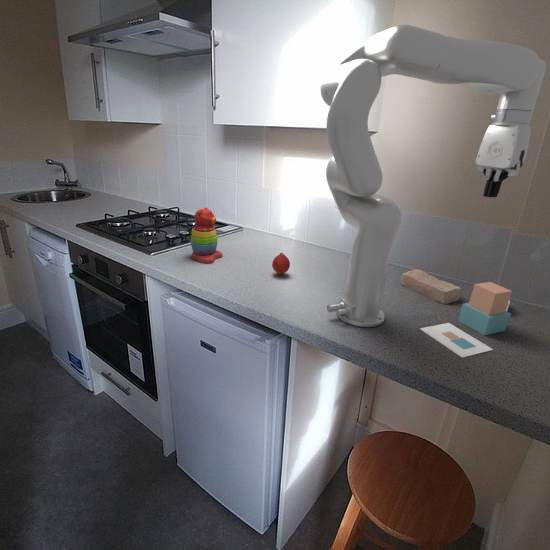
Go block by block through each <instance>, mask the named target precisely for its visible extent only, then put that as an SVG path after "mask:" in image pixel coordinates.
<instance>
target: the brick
mask: <svg viewBox="0 0 550 550" xmlns="http://www.w3.org/2000/svg"><path fill="white" fill-rule="evenodd" d="M400 285H401V286H403V287H404V288H406V289H409V290H410V291H412V292H416V293H418V294H420V295H422V296H425V297H427V298H429V299H431V300H433V301H436V302H439V303H441V304H443V305H446V304H447V305H448V304H450V303H453V302H457V301H459V299H460V296H461V291H462V288H461V287H459V286H458V285H454V284H453V283H451V282H448V281H445V280H440V279H439V278H437V277H436V276H432V275H430V274H429V273H427V272H425V271H423V270H421V269H412V270H408V271H406V272H403V273H401V277H400Z"/></svg>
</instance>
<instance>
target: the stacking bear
mask: <svg viewBox="0 0 550 550" xmlns="http://www.w3.org/2000/svg"><path fill="white" fill-rule="evenodd" d="M193 217H194V222H195V225H194V226H193V228H192V230H191V235H190V246H191V249H192V253H191V259H192V260H194V261H195V262H198V263H202V264H207V265H209V264H213V263H215V260H216V259H221V258H222V257H224V256H223V252H221V251H219V250H217V246H218V241H219V240H218V234H217V230H216V227H215V226H214V224H215V223H216V221H217V218H216V216H215V214H214V213H213V212H212V210H210V209H208V207H204V208H200V209H198V210H197V211H195V213H194V216H193Z"/></svg>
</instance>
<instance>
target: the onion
mask: <svg viewBox="0 0 550 550" xmlns="http://www.w3.org/2000/svg"><path fill="white" fill-rule="evenodd" d="M271 267H272V269H273V271H274V272H275V273H277V274H278V275H279V276H282V275H284V274H286V273H287V272H288V271H289V269H290V267H291V263H290V260H289V258H288V256H286V255H285V254H284V252H282V251H281V252H280V253H279V254H278V255H276V256H275V257H274V258H273V260H272V263H271Z"/></svg>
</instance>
